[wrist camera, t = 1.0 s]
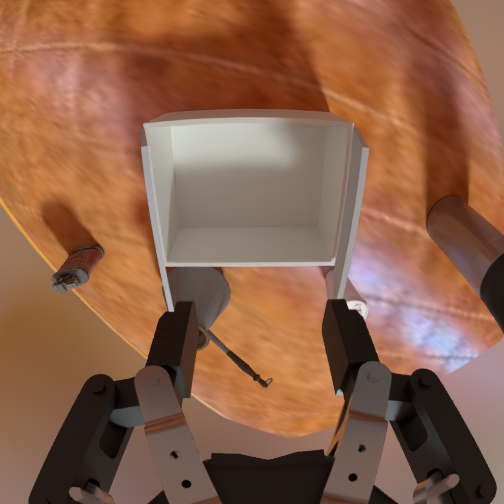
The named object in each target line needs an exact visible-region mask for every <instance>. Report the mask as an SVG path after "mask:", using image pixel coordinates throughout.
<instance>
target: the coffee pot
mask: <svg viewBox="0 0 504 504" xmlns="http://www.w3.org/2000/svg"><path fill="white" fill-rule="evenodd" d="M167 279H168V284H169V289H170V294H171V299H172V303H173V308H174V309H175V305H176V302H177V300H194V301H195V306H196V312H197V318H198V324H199V339H198V345H197V351H199V350H202V349H204V348H205V347H206V346H207V345H208V344H209V341H210V339H211V340H212V341H213V342H214V343H215V344H216V345H217V346H218V347H220V348H221V349H222V350H223V351H224V352H225V353H226V354H227V355H228V356H229V357H230V358H231V359H232V360H233V361H234V362H235V363H236V364H237V365H238V366H239V367H240V368H241V369H242V370H243V371H244V372H245V373H247V374H248V375H250V376H251V377H253V379H254V381H258V382H259V383H260V385H262V387H263V388H264V387H265V388H266V387H268V385H269V384H270V383H271V382H272V378H269V379H268V380H270V379H271V381H270V382H269V383H268V384H267V383H266V382H267V381H268V380H266V381H264V380H262V379H261V378H260V375H259V374H256V373H255V372H254V371H253V370H252V369H251V367H250V366H249V365H248V364H247V363H245V362H244V361H243V360H242V359H240V358H239V357H238V356H237V355H236V354H234V353H233V352H232V351H231V350H229V349H228V348H227V347H226V346H225V345H224V344H223V343H222V342H221V341H220V340H219V339H218V338H217V337H216V336H215V335H214V334H213V333H212V332H211V331H210V330H209V328H210V326H211V325H212V324H213V323H214V321H215V320H216V319H217V318H218V317H219V315H220V314H221V313H222V312H223V310H224V309H225V308H226V307H227V305H228V303H229V300H230V293H231V291H230V287H229V284H228V282H227V281H226V279H225V278H224V276H223V275H222V274H221V273H220V272H219V271H218V270H217V269H215V268H213V267H175V268H173V269H172V270H171V271H170V272H169V273H168V274H167ZM162 290H163V296H164V300H165V303H166V307H167V310H168V311H169V309H168V305H167V301H166V296H165V292H164V287H163V286H162Z"/></svg>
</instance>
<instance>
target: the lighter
mask: <svg viewBox="0 0 504 504" xmlns="http://www.w3.org/2000/svg"><path fill="white" fill-rule="evenodd" d="M104 254H105V253H104V249H103V248H102V247H101V246H100V245H97V244H95V245H86V246H82V247H80V248H77V249H75V250H74V251H72V252H71V253H70V254H69V256H68V258H67V260H66V261H65V262H64V264H63V265H62V266H61V268H60V269H59V270H58V272H56V273H55V274H54V275H53V276H52V281H53V283H54V284H53V285H52V287H51V289H52V290H53V291H54V292H58V291H61V293H65V292H66V291H67V290H69V289H73V288H77V287H79V286H80V285H82V284H84V283H86V282H87V281H88V279H89V276H90V274H91V272H92V271H93V269H94V268H95V266H96V265H97V263H98V262H99V260H101V259H102V258H103V256H104Z"/></svg>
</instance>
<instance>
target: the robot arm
mask: <svg viewBox="0 0 504 504" xmlns="http://www.w3.org/2000/svg"><path fill="white" fill-rule="evenodd" d="M427 231H428V234H429V236H430V237H431V238H432V239H433V240H434V242H435V243H436V244H437V245H438V246H439V247H440V249H441V250H442V251H443V252H444V253H445V254H446V256H447V257H448V258H449V259H450V260H451V262H452V263H453V264H454V265H455V266H456V268H457V269H458V270H459V271H460V272H461V274H462V275H463V276H464V277H465V279H466V280H467V281H468V282H469V284H470V285H471V286H472V287H473V289H474V290H475V291H476V293H477V294H478V295H479V297H480V298H481V299H482V301H483V302H484V303H485V305H486V306H487V308H488V309H489V311H490V313H491V314H492V316H493V317H494V318H495V320H496V321H497V323H498V325H499V326H500V328H501V330H502V331H503V333H504V235H503V234H502V233H501V232H500V231H499V230H497V229H496V228H495V227H494V226H493V225H492V224H491V223H489V222H488V221H487V220H486V219H485V218H483V217H482V216H481V215H480V214H479V213H477V212H476V211H475V210H474V209H473V208H471V207H470V206H469V205H468V204H466V203H465V202H464V201H462V200H461V199H460V198H458V197H456V196H447V197H445V198H443V199H441V200H440V201H438V202H437V203H436V204H435V205H434V207H433V208H432V210H431V212H430V213H429V216H428V220H427ZM322 336H323V341H324V345H325V349H326V354H327V358H328V363H329V367H330V372H331V376H332V381H333V385H334V390H335V395H336V396H337V395H343V396H344V400H345V401H344V404H343V406H342V410H341V413H340V416H339V419H338V422H337V426H336V429H335V432H334V435H333V438H332V440H331V443H330V445H329V447H328V450H327V452H326V455H324V450H323V449H322V450H313V451H302V452H295V453H292V454H288V455H285V456H281V457H278V458H274V459H270V460H266V459H261V458H256V457H251V456H246V455H242V454H223V453H212V455H211V459H208V460H204V461H203V459H202V457H201V455H200V452H199V450H198V448H197V446H196V443H195V441H194V439H193V436H192V434H191V431H190V429H189V426H188V424H187V421H186V419H185V416H184V414H183V411H182V401H183V398H190V394H191V387H192V380H193V373H194V366H195V359H196V352H197V345H198V339H199V324H198V318H197V312H196V306H195V301H194V300H177V302H176V305H175V309H174V312H169V311H166V312H165V313H164V314H163V315H162V316H161V318H160V319H159V321H158V324H157V327H156V331H155V334H154V338H153V341H152V344H151V348H150V352H149V355H148V359H147V363H146V366H145V367H144V368H142V369H141V370H140V371H139V372H138V373H137V374H136V376H135V377H133V378H129V379H124V380H118V381H113V380H112V378H111V377H109V376H107V375H104V374H97V375H94V376H92V377H90V378H89V379H88V380H87V381H86V382H85V384H84V386H83V388H82V389H81V391H80V393H79V395H78V397H77V399H76V401H75V402H74V404H73V406H72V408H71V410H70V412H69V413H68V415H67V418H66V419H65V421H64V423H63V426H62V427H61V429H60V431H59V433H58V435H57V437H56V439H55V441H54V443H53V446H52V447H51V449H50V451H49V453H48V456H47V458H46V460H45V462H44V464H43V466H42V468H41V471H40V473H39V475H38V478H37V480H36V482H35V484H34V486H33V489H32V491H31V493H30V496H29V504H115V501H114V499H113V497H112V496H111V495H110V494H109V490H110V487H111V485H112V482H113V479H114V477H115V474H116V472H117V469H118V466H119V464H120V461H121V459H122V456H123V454H124V451H125V449H126V446H127V444H128V441H129V438H130V436H131V434H132V431H133V429H134V426H140V425H145V427H144V432H145V436H146V439H147V443H148V446H149V449H150V452H151V455H152V458H153V461H154V464H155V467H156V470H157V473H158V475H159V478H160V481H161V483H162V486H163V489H164V490H163V491H162V492H160V493H159V494H158V495H157V496H156V497H155V498H154V499H153V500H151V501H150V502H149V503H148V504H398V503H397V502H395V501H394V500H393V499H391V498H390V497H389V496H388V495H386V494H385V493H384V492H383V491H381V490H380V489H379V488H378V487H376V486H375V485H374V481H375V478H376V474H377V471H378V467H379V462H380V459H381V455H382V451H383V446H384V441H385V437H386V432H387V427H388V421H387V420H389V422H390V424H391V426H392V428H393V430H394V432H395V434H396V436H397V439H398V441H399V443H400V445H401V447H402V450H403V452H404V454H405V456H406V458H407V460H408V463H409V465H410V467H411V470H412V472H413V474H414V477H415V479H416V481H417V483H418V485H417V486H416V488H415V490H414V493H413V501H414V504H490V503H491V502H492V500H493V499H494V497H495V494H496V490H497V486H496V482H495V479H494V477H493V475H492V473H491V471H490V469H489V467H488V465H487V463H486V461H485V459H484V457H483V455H482V453H481V451H480V449H479V447H478V446H477V444H476V442H475V440H474V438H473V436H472V434H471V433H470V431H469V429H468V427H467V425H466V424H465V422H464V420H463V418H462V416H461V415H460V413H459V411H458V410H457V408H456V406H455V405H454V403H453V401H452V399H451V398H450V396H449V394H448V393H447V391H446V389H445V388H444V386H443V385H442V383H441V381H440V380H439V378H438V376H437V375H436V374H435V373H434V372H432V371H431V370H428V369H418V370H416V371H414V372H413V373H412V375H411V376H410V375H402V374H396V373H392V372H390V370H389V368H388V367H387V366H386V365H384V364H382V363H380V361H379V358H378V355H377V353H376V350H375V347H374V344H373V342H372V339H371V336H370V335H369V331H368V328H367V326H366V323H365V321H364V318H363V316H362V315H361V314H360V313H359V312H358V311H357V310H356V309H354V310H349V308H348V305H347V302H346V300H345V299H328V300H327V303H326V308H325V313H324V318H323V323H322Z"/></svg>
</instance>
